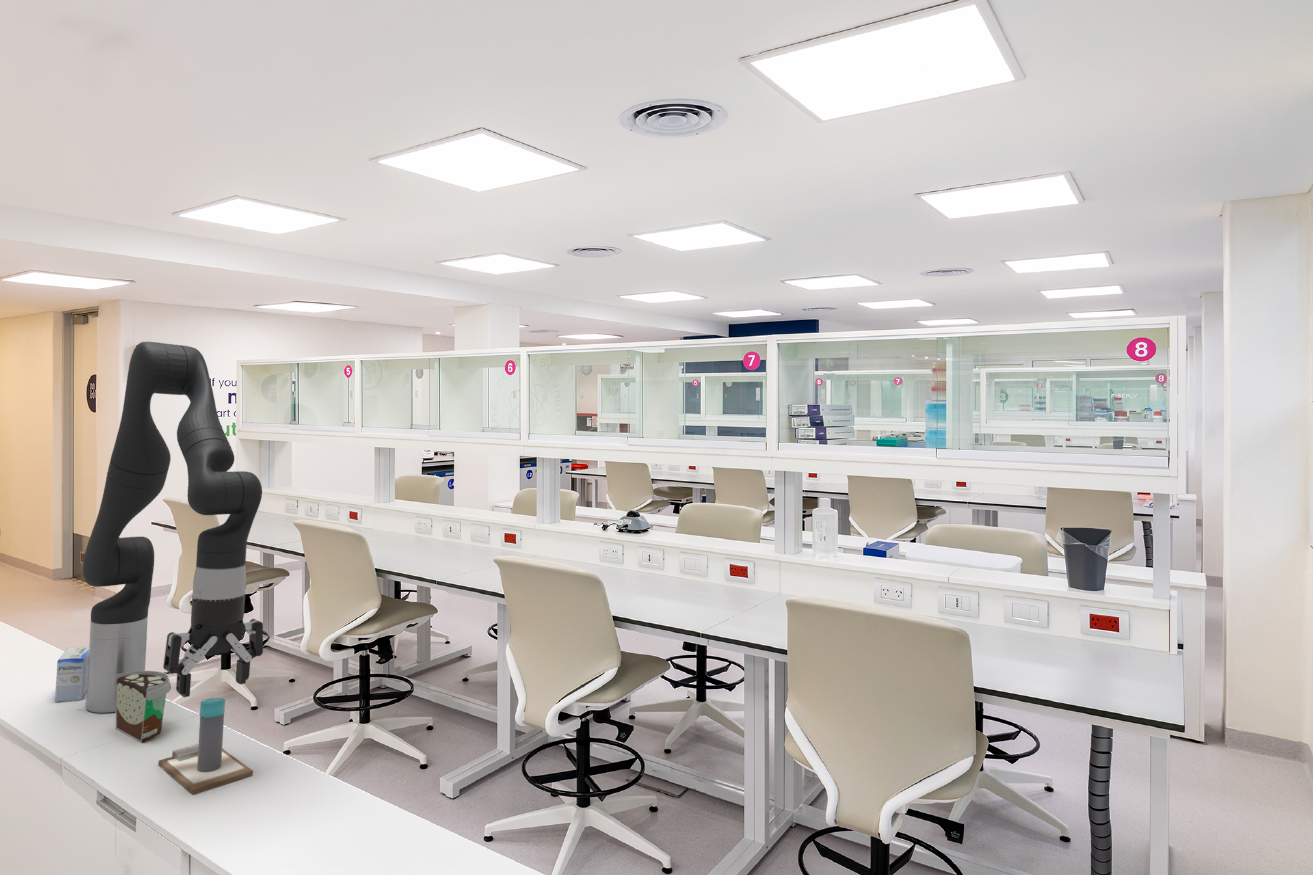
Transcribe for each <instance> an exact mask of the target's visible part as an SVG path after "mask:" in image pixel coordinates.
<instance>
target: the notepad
mask: <svg viewBox="0 0 1313 875" xmlns="http://www.w3.org/2000/svg"><path fill="white" fill-rule="evenodd" d="M198 746H199V743H197V744H192V745H189V746H184V747H182V748H177V749H174V750H172V753H171V756H170V757H166V758H163V759H159V760H158V766H159V767H160V766H161V767H162V768H163V769H164V770H163V769H162V768H161V767H160V768H161V769H162V770H163V771H164V772H166V773H167V774H168V775H169V776H170V775H171V776H170V777H171V778H173V779H174V781H176V782H177V783H179V785H181V786H182V787H183V788H184V789H185V790H187V791H188V792H189V793H190V794H191V796H192V795H196V794H199V793H202V792H205V791H208V790H211V789H215V788H218V787H221V786H224V785H228V784H230V783H234V782H236V781H241V780H243V779H246V778H249V777H252V776H253V774H254V770H253V769H251V768H250V767H249V766H247V765H246V764H244V763H243V762H242V761H240V760H239V759H238V758H236V757H235V756H233V754H231V753H229V752H228V751H227V750H226V749H224V748H223V747H222V760H221V767H220V768H219V769H217V770H215V771H211V772H199V771H198V770H197V764H198Z"/></svg>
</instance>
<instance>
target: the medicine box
mask: <svg viewBox="0 0 1313 875" xmlns="http://www.w3.org/2000/svg"><path fill="white" fill-rule="evenodd" d="M88 663H89V646H79V647H78V646H77V647H68V648H66V649H65V650H64V652H63V653H62V654H61V655H60V656H59V658H58V660H57V662H56V681H55V695H54V696H55V697H54V702H56V703H62V702H61V701H67V702H75V701H74V700H77V701H81V700H83V699H84V697H85V695H86V694H87V682H88ZM72 700H73V701H72ZM59 701H60V702H59Z"/></svg>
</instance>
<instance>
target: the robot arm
mask: <svg viewBox="0 0 1313 875" xmlns="http://www.w3.org/2000/svg"><path fill="white" fill-rule="evenodd" d="M209 373H210V372H209V369H208V365H207V362H206V360H205V357H204V355H203V354H202V353H201V351H200V350H199V349H197V348H196V347H192V346H188V345H182V344H172V343H166V342H164V343H163V342H154V341H141V342H139V343H138V344H137V345H136V346H135V348H134V349H133V351H132V354H131V357H130V360H129V365H128V370H127V376H126V377H127V378H126V383H125V384H126V385H125V393H124V399H123V404H122V405H123V406H122V413H121V418H120V421H119V425H118V426H119V427H118V431H117V434H116V438H115V442H114V445H113V449H112V452H111V455H110V460H109V465H108V468H107V472H106V478H105V484H104V488H103V494H102V499H101V503H100V506H99V510H98V514H97V516H96V520H95V523H94V524H93V525H94V526H93V528H92V530H91V533H90V536H89V539H88V542H87V545H86V549H85V552H84V555H83V560H82V576H83V579H84V581H85V582H86V584H87V585H89V586H91V587H95V588H96V587H98V588H100V587H102V588H103V587H104V588H105V587H113V586H114V587H115V586H121V585H124V587H123V588H122V589H121V590H120V591H118V592H117V593H115V594H114V595H112V596H110V597H108V598H106V599H104V600H102V601H98V602H97V603H95V604H94V605H93V606H92V608H91V611H90V628H89V646H88V647H89V663H88V682H87V691H86V699H85V700H86V703H85V705H86V706H85V709H86V710H87V711H89V712H92V713H98V714H99V713H101V714H102V713H116V685H114V682H115V677H116V674H120V673H125V672H133V671H146V658H147V639H148V621H149V620H148V619H149V618H148V617H149V608H150V604H151V598H152V597H151V595H152V584H153V578H154V577H153V576H154V570H155V569H154V568H155V550H154V545H153V543H152V541H151V540H150V539H149V538H148V537H147V536H128V537H127V536H125V537H124V536H123V537H120V536H121V534H122V532H123V531H124V529H126V527H127V526H128V524H129V523H130V522H131V521H132V520H133V519H134V518H135V517H136V516H137V515H139V514H140V513H141V512H142V511H144V510H145V508H147V507H148V506H149V505H150V504H151V503H152V502H153V501H154V500H155V499H156V498H157V497H158V496H159V494H160V493H161V492H162V490H163V489H164V487H165V484H166V480H167V477H168V472H169V468H170V464H171V460H172V459H171V452H170V449H169V446H168V445H167V443H166V441H165V439H164V438H163V436H162V433H161V432H160V430H159V429H158V427H157V425H156V422H155V421H154V418H153V416H152V412H151V402H152V398H153V395H154V394H158V395H171V396H172V395H173V396H174V395H175V396H186V397H187V398H188V400H189V405H188V407H187V409H186V411H185V412H184V413H183V415H182V417H181V419H180V421H179V423H178V426H177V429H176V440H177V443H178V447H179V449H180V452H181V454H182V457H183V459H184V460H185V463H186V464H185V465H186V468H187V469H186V470H187V480H188V482H187V502H188V505H189V507H190V508H191V509H192V510H193V511H194V512H196V513H197V514H199V515H202V516H218V515H220V516H221V515H229V516H228V517H227V519H226V520H225V522H224V523H222V524H220V525H218V526H215V527H211V528H207V529H205V530H203V531H202V532H200V533H199V535H198V537H197V545H196V546H197V547H196V562H195V569H194V570H195V571H194V575H193V582H192V595H191V611H190V612H191V613H190V614H191V615H190V627H189V629H188V631H187V632H181V633H176V632H174V631H172V632H169V633H168V634H167V637H166V643H165V651H164V652H165V653H164V657H163V658H164V659H163V665H162V667H163V669H164V670H165V671H167V672H168V673H170V674H171V675H174V674H176V686H175V690H176V692H177V693H178V694H179V695H180V696H182V697H183V698H187V697H190V695H191V684H192V682H191V681H192V674H191V673H190V672H191V671H192V670H193V669H194V667H195V666H196V665H197V664H198V663H200V662H201V661H202V659H204V658H205V656H207V657H211V656H215V655H217V654H226V653H227V654H228V653H229V652H230V651H232V652H233V653H234V654H235V655H236V657H238V659H237V660H236V667H235V668H236V671H235V682H236V683H237V684H238V685H245V684H246V682H247V680H249V677H250V668H251V661H252V660H253V659H254V658H256V657H260V656H262V655H263V654H264V653H263V652H264V623H263V622H262V621H259V620H258V619H256V618H251V619H250V621H248V622H244V616H245V604H246V602H245V601H246V590H247V572H246V571H247V570H246V563H247V562H246V560H247V542H248V538H249V535H250V532H251V529H252V527H253V523H254V520H255V518H256V515H257V512H258V510H259V507H260V504H261V502H262V501H261V500H262V497H263V487H262V483H261V481H260V479H259V477H258V476H257V475H256V474H254V473H253V472H251V471H245V470H242V471H238V470H237V471H229V470H230V469H231V468H232V467H233V465H234V464H235V454H234V451H233V448H232V445H231V444H230V442H229V440H228V438H227V435H226V433H225V431H224V429H223V427H222V425H221V421H220V418H219V414H218V410H217V407H216V406H217V405H216V400H215V397H214V396H215V395H214V391H213V386H212V382H211V378H210V374H209ZM245 632H246V634H248V636H249V638H248V639H249V641H248V644H249V645H248V647H249V648H248V649H246V647H245V646H244V645H243V644H242V643H241V641H239V639H240V638H241V637H242V636H243V635H244V633H245ZM187 641H189V643H191V644H190V646H189V647H188V649H187V650H186V651H185V652H184V654H183V657H182V658H181V660H180V655H181V654H180V653H181V648H183V647H184V646H185V644H186V642H187Z"/></svg>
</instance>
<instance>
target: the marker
mask: <svg viewBox="0 0 1313 875" xmlns="http://www.w3.org/2000/svg"><path fill="white" fill-rule="evenodd" d="M225 710H226V699H225V698H224V697H210V698H206V699H204V700H202V701H200V706H199V729H198V730H199V732H198V744H199V746H198V764H197V770H198V771H199V772H211V771H215V770H217V769H219V768H220V767H221V760H222V748H223V741H224V740H223V738H224V723H225V721H224V719H225Z"/></svg>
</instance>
